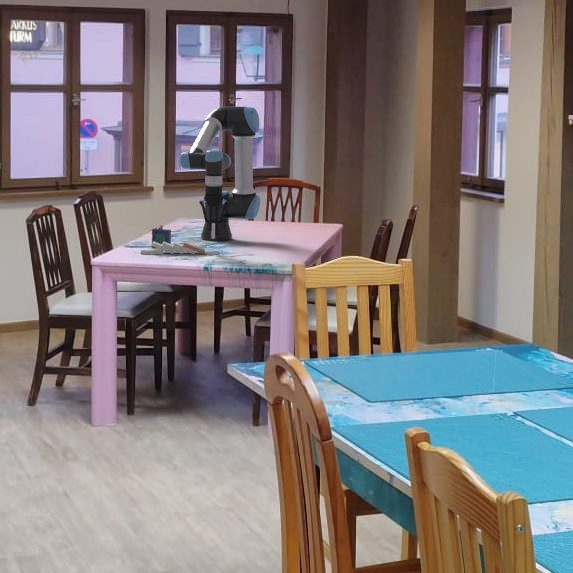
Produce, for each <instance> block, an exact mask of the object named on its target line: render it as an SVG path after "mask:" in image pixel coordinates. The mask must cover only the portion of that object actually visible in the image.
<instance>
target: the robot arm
mask: <svg viewBox="0 0 573 573" xmlns="http://www.w3.org/2000/svg"><path fill="white" fill-rule="evenodd" d="M259 130H260V116H259V113H258V111H257V109H256V108H255V107H253V106H252V107H251V106H227V105H226V106H225V105H224V106H220V107H217V108H215V109H213V111H211V112H209V114H207V116H205V118H204V119H203V122H202V127H201V130H200V131H199V134H198V135H197V137H196V138H195V141H194V142H193V145H192V146H191V148H190V150H189V151H184V152H182V153H181V154H180V159H179V160H180V163H179V164H180V167H181V168H183V169H187V170H202V171H203V170H205V177H204V178H205V183H204V184H205V188H204V189H205V190H204V191H205V192H204V193H205V194H204V197H203V199H201V200H199V204H200V206H201V209H202V214H203V217H204V225H203V227H202V232H201V234H200V239H201V240H205V241H218V242H219V241H222V242H223V241H230V239H231V240H232V239H233V234H232V231H231V227H230V219H238V220H239V219H240V220H255V218H256V217H258V213H259V212H260V211H259V210H260V208H261V207H260V206H261V198H260V196H259V195H258V194H257V191H256V189H255V188H254V180H253V177H254V176H253V173H254V171H253V170H254V169H253V168H254V166H253V164H254V163H253V160H254V159H253V158H254V157H253V139H254V138H255V137H256V136H257V135H256V133H257V132H259ZM221 132H231V133H230V136H231V138H233V139H234V188H233V189H232V190H231V194H230V191H229V190H223V186H222V185H223V171H224V170H227V169H229V167H230V166H231V164H232V159H231V157H230V155H228V154H227V153H225V152H223V151H222V150H219V149H218V150H217V149H214V150H213V149H211V147H212V145H213V143H214V141H215V139H216V137H217V136H218V135H219V134H221Z"/></svg>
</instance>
